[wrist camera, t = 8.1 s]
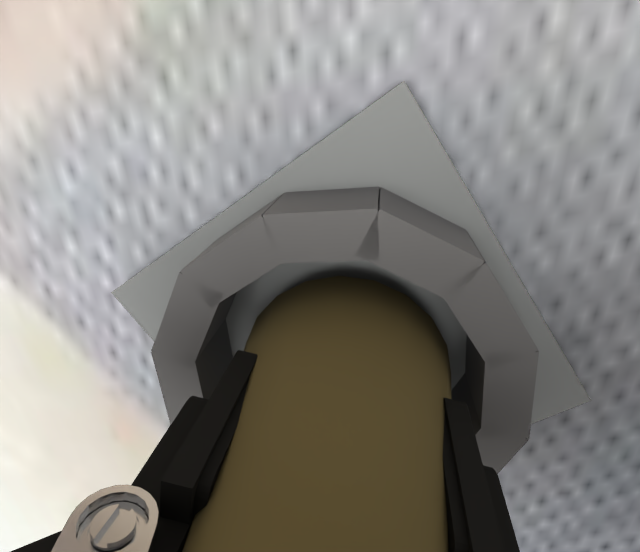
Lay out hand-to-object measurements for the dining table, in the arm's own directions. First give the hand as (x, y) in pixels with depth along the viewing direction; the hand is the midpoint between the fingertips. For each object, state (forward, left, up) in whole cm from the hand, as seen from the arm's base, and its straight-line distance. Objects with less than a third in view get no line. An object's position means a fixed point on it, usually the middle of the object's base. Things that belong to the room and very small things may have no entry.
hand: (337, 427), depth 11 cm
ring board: (0, 0, -5) cm, 5 cm away
